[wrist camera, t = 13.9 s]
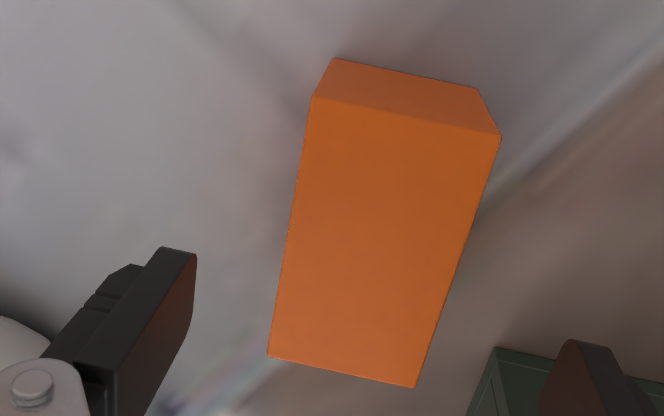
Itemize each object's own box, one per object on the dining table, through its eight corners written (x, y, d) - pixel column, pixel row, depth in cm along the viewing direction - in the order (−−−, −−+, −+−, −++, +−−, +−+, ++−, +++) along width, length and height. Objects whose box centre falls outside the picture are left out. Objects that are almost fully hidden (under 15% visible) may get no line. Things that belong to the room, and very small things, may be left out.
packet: (291, 273, 20) (265, 357, 16) (332, 56, 17) (311, 95, 13) (411, 300, 20) (415, 390, 16) (478, 88, 17) (503, 136, 13)
